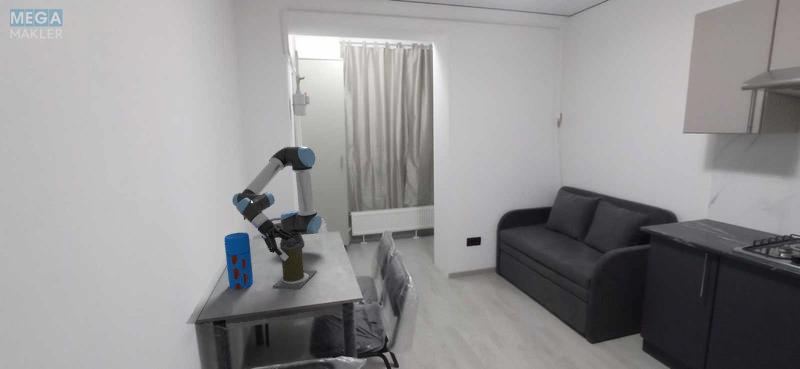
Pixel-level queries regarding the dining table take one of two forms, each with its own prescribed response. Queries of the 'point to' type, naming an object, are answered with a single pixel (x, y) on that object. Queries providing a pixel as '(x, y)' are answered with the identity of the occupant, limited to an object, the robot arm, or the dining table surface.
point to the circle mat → (295, 284)
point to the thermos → (238, 260)
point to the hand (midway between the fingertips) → (293, 254)
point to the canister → (292, 261)
